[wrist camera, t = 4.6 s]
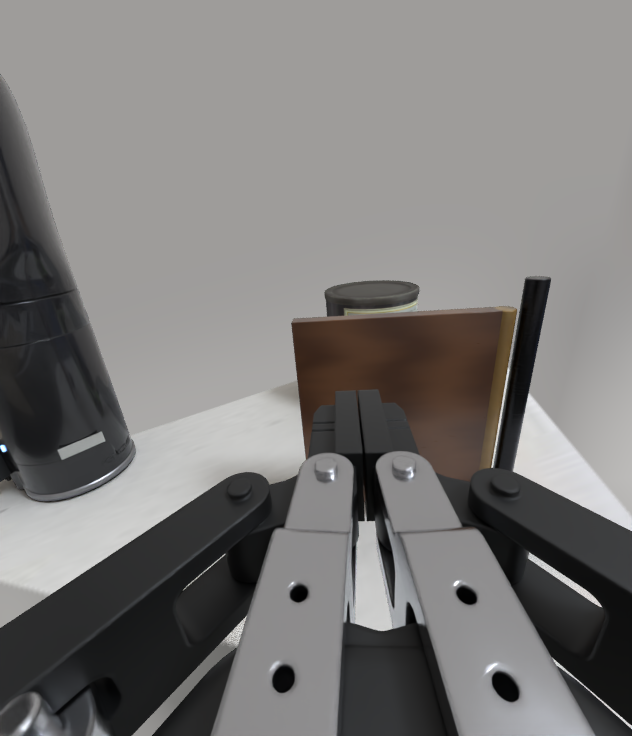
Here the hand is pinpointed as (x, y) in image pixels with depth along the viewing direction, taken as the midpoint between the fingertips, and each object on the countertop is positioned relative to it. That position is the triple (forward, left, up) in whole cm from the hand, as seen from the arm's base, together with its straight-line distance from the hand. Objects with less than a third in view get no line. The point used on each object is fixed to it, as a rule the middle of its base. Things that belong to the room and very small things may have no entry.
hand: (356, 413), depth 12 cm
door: (+3, +9, -13) cm, 16 cm away
